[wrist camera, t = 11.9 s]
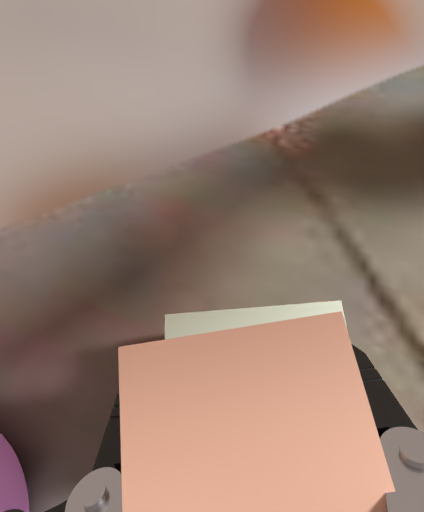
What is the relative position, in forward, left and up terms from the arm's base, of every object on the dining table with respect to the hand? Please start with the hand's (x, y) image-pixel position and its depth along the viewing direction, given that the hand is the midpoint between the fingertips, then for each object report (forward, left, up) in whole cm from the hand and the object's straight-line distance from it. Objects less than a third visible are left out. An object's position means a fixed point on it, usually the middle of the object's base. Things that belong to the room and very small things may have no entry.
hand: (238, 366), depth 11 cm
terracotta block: (0, +2, -5) cm, 5 cm away
